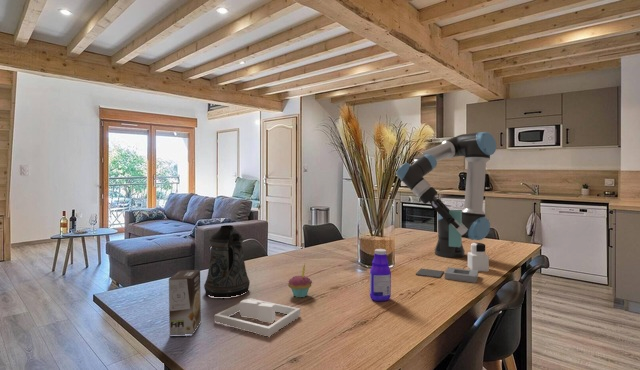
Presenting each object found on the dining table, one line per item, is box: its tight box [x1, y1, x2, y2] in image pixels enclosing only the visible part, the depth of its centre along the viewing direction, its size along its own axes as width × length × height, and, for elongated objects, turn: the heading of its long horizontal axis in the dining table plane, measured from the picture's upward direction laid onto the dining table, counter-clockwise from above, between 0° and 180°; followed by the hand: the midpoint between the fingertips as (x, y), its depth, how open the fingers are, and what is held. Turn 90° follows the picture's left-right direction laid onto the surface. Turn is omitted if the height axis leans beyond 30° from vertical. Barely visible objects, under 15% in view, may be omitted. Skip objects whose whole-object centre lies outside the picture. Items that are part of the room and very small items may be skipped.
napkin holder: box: [239, 299, 277, 322], centre depth 107 cm, size 15×11×6 cm
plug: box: [449, 209, 463, 247], centre depth 150 cm, size 4×4×15 cm
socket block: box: [444, 266, 479, 284], centre depth 149 cm, size 10×12×2 cm
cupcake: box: [287, 263, 313, 298], centre depth 128 cm, size 9×8×12 cm
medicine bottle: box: [467, 242, 490, 272], centre depth 161 cm, size 7×7×12 cm
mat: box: [415, 268, 445, 279], centre depth 155 cm, size 10×10×1 cm
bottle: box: [369, 248, 392, 302], centre depth 124 cm, size 7×6×17 cm
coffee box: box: [168, 269, 202, 336], centre depth 101 cm, size 9×6×16 cm
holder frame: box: [213, 297, 301, 336], centre depth 107 cm, size 16×20×2 cm
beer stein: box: [203, 224, 251, 297], centre depth 132 cm, size 16×19×25 cm
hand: (465, 232), depth 148 cm, fingers closed on plug, 5 cm apart
